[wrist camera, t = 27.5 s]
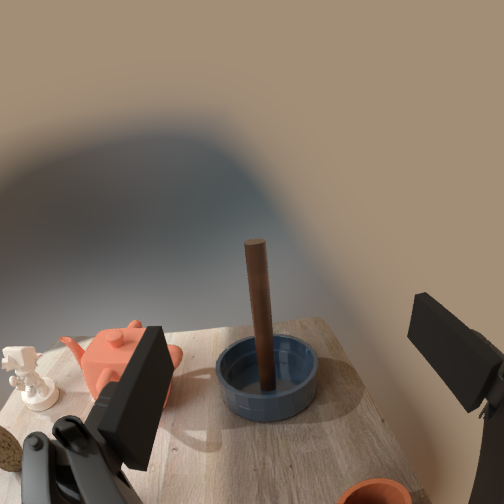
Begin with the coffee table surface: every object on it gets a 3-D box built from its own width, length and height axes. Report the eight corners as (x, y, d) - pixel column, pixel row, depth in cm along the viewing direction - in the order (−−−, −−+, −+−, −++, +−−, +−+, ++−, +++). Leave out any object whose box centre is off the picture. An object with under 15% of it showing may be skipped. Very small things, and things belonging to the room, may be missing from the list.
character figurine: (20, 408, 31) (-10, 359, 27) (36, 380, 40) (12, 333, 36) (51, 413, 32) (18, 361, 28) (65, 382, 41) (40, 332, 37)
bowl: (306, 354, 48) (306, 328, 46) (326, 415, 34) (329, 388, 32) (223, 363, 48) (218, 337, 46) (219, 427, 33) (211, 402, 32)
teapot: (200, 394, 40) (182, 329, 37) (125, 444, 29) (86, 382, 25) (147, 356, 51) (129, 300, 47) (85, 390, 39) (56, 332, 35)
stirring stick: (275, 379, 42) (264, 237, 35) (277, 390, 39) (266, 243, 32) (259, 381, 42) (244, 239, 35) (260, 392, 39) (244, 245, 32)
